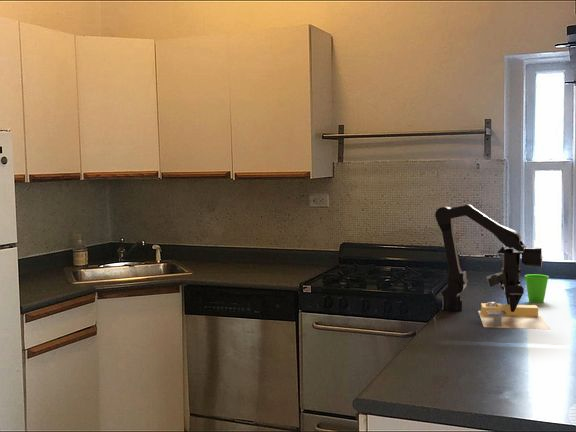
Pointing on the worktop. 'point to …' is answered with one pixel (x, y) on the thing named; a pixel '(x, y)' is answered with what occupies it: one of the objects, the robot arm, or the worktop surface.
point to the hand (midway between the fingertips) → (510, 309)
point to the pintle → (491, 304)
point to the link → (510, 309)
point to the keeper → (496, 316)
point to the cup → (536, 287)
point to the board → (516, 322)
